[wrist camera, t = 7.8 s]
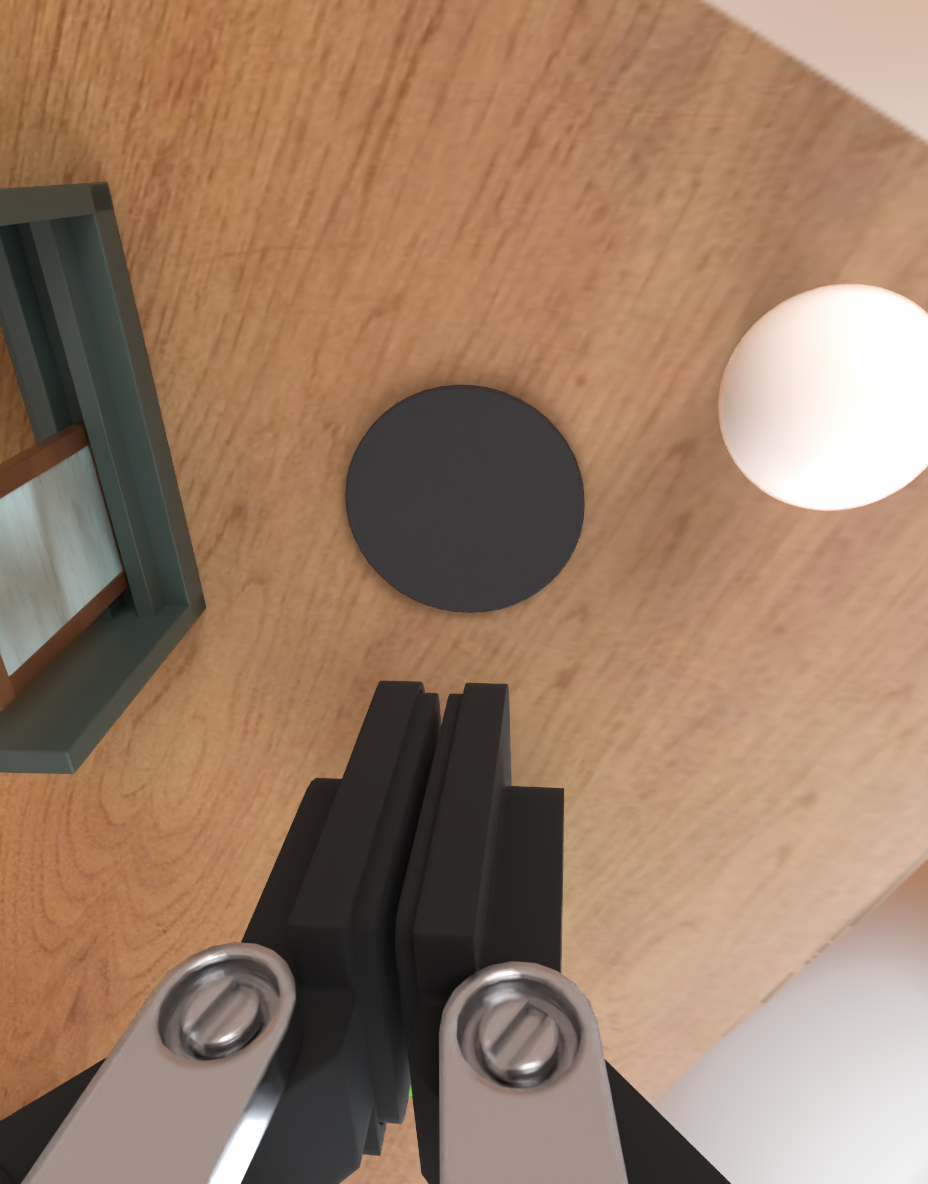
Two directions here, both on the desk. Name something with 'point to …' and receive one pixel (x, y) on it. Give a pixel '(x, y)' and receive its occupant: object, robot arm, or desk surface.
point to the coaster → (465, 498)
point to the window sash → (52, 554)
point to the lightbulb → (830, 397)
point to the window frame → (122, 455)
